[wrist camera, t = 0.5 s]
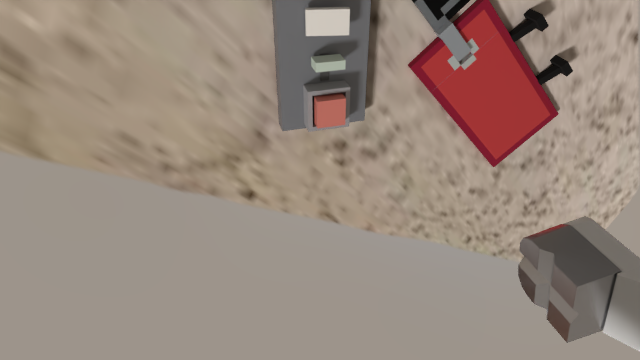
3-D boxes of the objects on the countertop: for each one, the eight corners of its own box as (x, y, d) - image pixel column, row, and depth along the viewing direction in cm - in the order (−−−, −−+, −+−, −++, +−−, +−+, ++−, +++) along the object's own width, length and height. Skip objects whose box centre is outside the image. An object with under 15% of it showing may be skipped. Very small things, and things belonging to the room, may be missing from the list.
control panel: (267, -88, 45) (275, -83, 42) (368, -91, 47) (383, -87, 44) (279, 123, 57) (286, 139, 54) (358, 113, 60) (370, 127, 56)
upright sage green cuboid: (311, 56, 51) (315, 63, 50) (339, 53, 52) (345, 60, 50) (311, 65, 52) (315, 72, 50) (339, 62, 53) (345, 69, 51)
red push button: (313, 96, 53) (317, 101, 52) (341, 92, 53) (346, 98, 52) (314, 122, 55) (317, 128, 53) (341, 118, 55) (345, 124, 54)
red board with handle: (476, -85, 50) (369, 19, 54) (491, -82, 48) (378, 27, 52) (574, 91, 68) (488, 162, 71) (588, 99, 66) (498, 172, 69)
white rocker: (305, 7, 48) (305, 9, 48) (349, 6, 48) (349, 9, 48) (305, 33, 50) (305, 36, 49) (348, 32, 50) (349, 35, 49)
